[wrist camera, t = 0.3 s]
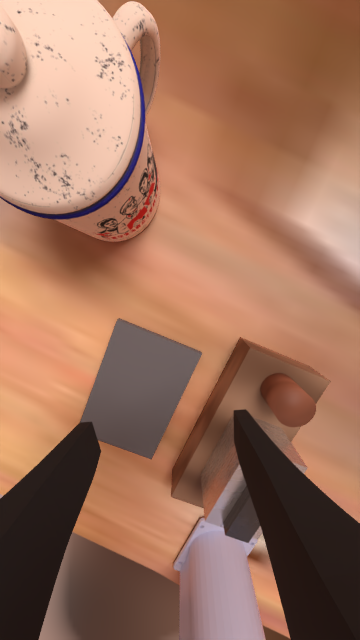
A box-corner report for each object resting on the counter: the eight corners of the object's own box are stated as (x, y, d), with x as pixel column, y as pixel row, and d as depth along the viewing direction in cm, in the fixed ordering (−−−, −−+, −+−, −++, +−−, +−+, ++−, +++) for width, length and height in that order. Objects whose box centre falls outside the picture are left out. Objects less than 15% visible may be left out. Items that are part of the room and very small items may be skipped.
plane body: (232, 491, 24) (248, 559, 18) (172, 469, 24) (169, 533, 18) (309, 366, 20) (360, 402, 15) (240, 337, 20) (264, 362, 14)
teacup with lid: (124, 265, 19) (31, 248, 7) (41, 200, 18) (-222, 57, 6) (206, 150, 17) (256, -131, 5) (117, 67, 15) (-69, -526, 4)
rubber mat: (152, 454, 23) (151, 459, 23) (79, 428, 23) (76, 432, 22) (201, 351, 20) (201, 354, 20) (119, 318, 20) (117, 319, 19)
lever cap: (243, 489, 20) (261, 552, 16) (200, 473, 20) (205, 534, 15) (281, 427, 19) (314, 478, 14) (235, 410, 18) (253, 455, 14)
